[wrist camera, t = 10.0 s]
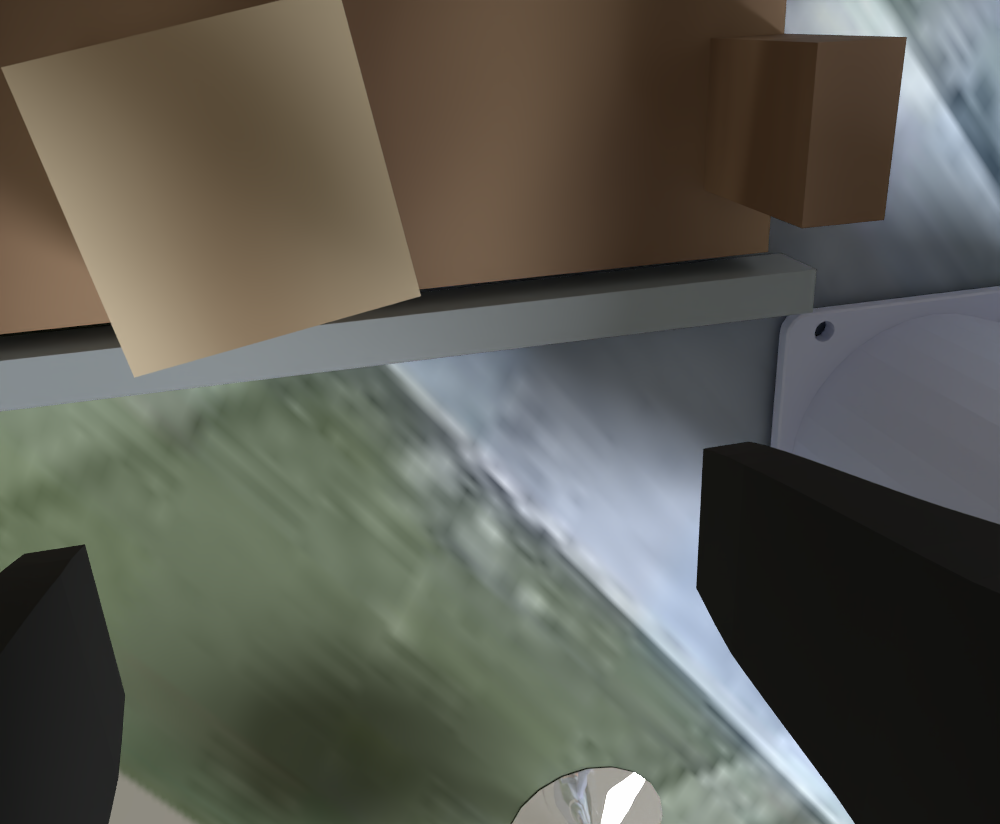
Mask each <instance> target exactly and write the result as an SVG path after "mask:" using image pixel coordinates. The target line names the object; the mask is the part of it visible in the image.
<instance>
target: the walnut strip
mask: <svg viewBox="0 0 1000 824" xmlns="http://www.w3.org/2000/svg"><path fill="white" fill-rule="evenodd" d="M275 1H279V0H0V334H7V333H17V332H26V331H35V330H45V329H54V328H63V327H73V326H82V325H91V324H101V323H110V320H109V318H108V315H107V313H106V311H105V308H104V306H103V304H102V301H101V299H100V297H99V294H98V292H97V290H96V287H95V285H94V283H93V280H92V278H91V276H90V273H89V271H88V269H87V266H86V264H85V262H84V259H83V257H82V255H81V253H80V250H79V248H78V246H77V243H76V241H75V239H74V236H73V234H72V232H71V229H70V227H69V225H68V222H67V220H66V218H65V215H64V213H63V211H62V208H61V206H60V204H59V201H58V199H57V197H56V194H55V192H54V190H53V187H52V185H51V183H50V180H49V178H48V176H47V173H46V171H45V169H44V166H43V164H42V162H41V160H40V157H39V155H38V153H37V150H36V148H35V146H34V143H33V141H32V139H31V136H30V134H29V132H28V129H27V127H26V125H25V122H24V120H23V118H22V115H21V113H20V111H19V108H18V106H17V104H16V101H15V99H14V97H13V94H12V92H11V90H10V87H9V85H8V83H7V80H6V78H5V76H4V73H3V71H2V69H1V67H5V66H10V65H14V64H18V63H22V62H26V61H30V60H34V59H39V58H43V57H47V56H51V55H55V54H59V53H63V52H68V51H72V50H76V49H80V48H84V47H88V46H93V45H97V44H101V43H105V42H109V41H113V40H117V39H122V38H126V37H130V36H134V35H138V34H142V33H146V32H151V31H155V30H159V29H163V28H167V27H171V26H175V25H180V24H184V23H188V22H192V21H196V20H200V19H205V18H209V17H213V16H217V15H221V14H225V13H229V12H234V11H238V10H242V9H246V8H250V7H254V6H258V5H263V4H267V3H271V2H275ZM342 4H343V7H344V11H345V15H346V18H347V22H348V26H349V30H350V33H351V37H352V41H353V44H354V48H355V52H356V56H357V59H358V63H359V67H360V71H361V74H362V78H363V82H364V85H365V89H366V93H367V97H368V100H369V104H370V108H371V111H372V115H373V119H374V123H375V126H376V130H377V134H378V138H379V141H380V145H381V149H382V152H383V156H384V160H385V164H386V167H387V171H388V175H389V178H390V182H391V186H392V190H393V193H394V197H395V201H396V205H397V208H398V212H399V216H400V219H401V223H402V227H403V231H404V234H405V238H406V242H407V245H408V249H409V253H410V257H411V260H412V264H413V268H414V272H415V275H416V279H417V283H418V286H419V289H427V288H437V287H446V286H455V285H465V284H474V283H483V282H493V281H502V280H511V279H521V278H530V277H539V276H549V275H558V274H567V273H577V272H586V271H595V270H605V269H614V268H623V267H633V266H642V265H651V264H661V263H670V262H679V261H689V260H698V259H707V258H717V257H726V256H735V255H745V254H754V253H763V252H768V245H769V232H770V218H771V216H772V217H774V218H777V219H779V220H782V221H785V222H787V223H790V224H792V225H795V226H797V227H800V228H810V227H819V226H829V225H839V224H849V223H858V222H868V221H878V220H884V217H885V209H886V201H887V193H888V184H889V176H890V168H891V160H892V152H893V144H894V136H895V128H896V120H897V111H898V103H899V95H900V87H901V79H902V71H903V63H904V55H905V47H906V39H907V37H881V36H844V35H808V34H784V27H785V14H786V0H342Z"/></svg>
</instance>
